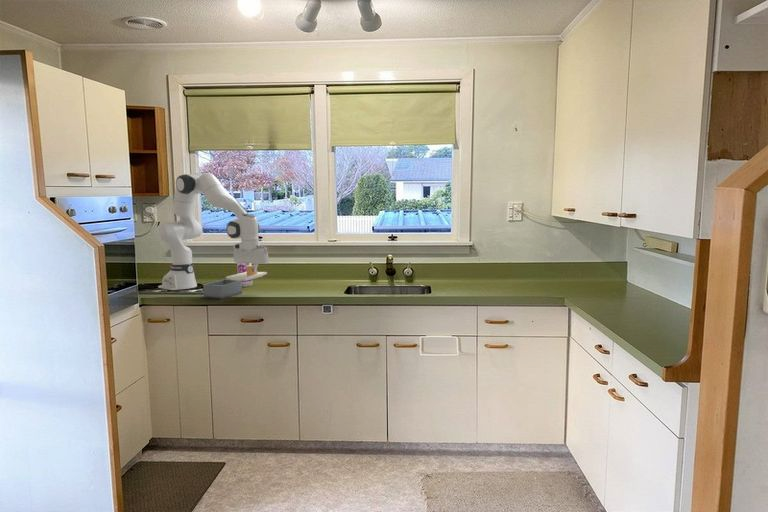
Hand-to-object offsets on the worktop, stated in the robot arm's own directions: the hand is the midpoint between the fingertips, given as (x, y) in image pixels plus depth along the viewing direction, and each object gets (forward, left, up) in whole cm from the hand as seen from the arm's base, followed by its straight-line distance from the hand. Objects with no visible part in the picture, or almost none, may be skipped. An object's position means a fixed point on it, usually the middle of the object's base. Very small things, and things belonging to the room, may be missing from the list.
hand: (251, 271), depth 259 cm
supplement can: (-26, +26, -14) cm, 40 cm away
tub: (-20, 0, -14) cm, 25 cm away
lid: (-3, 0, -3) cm, 4 cm away
